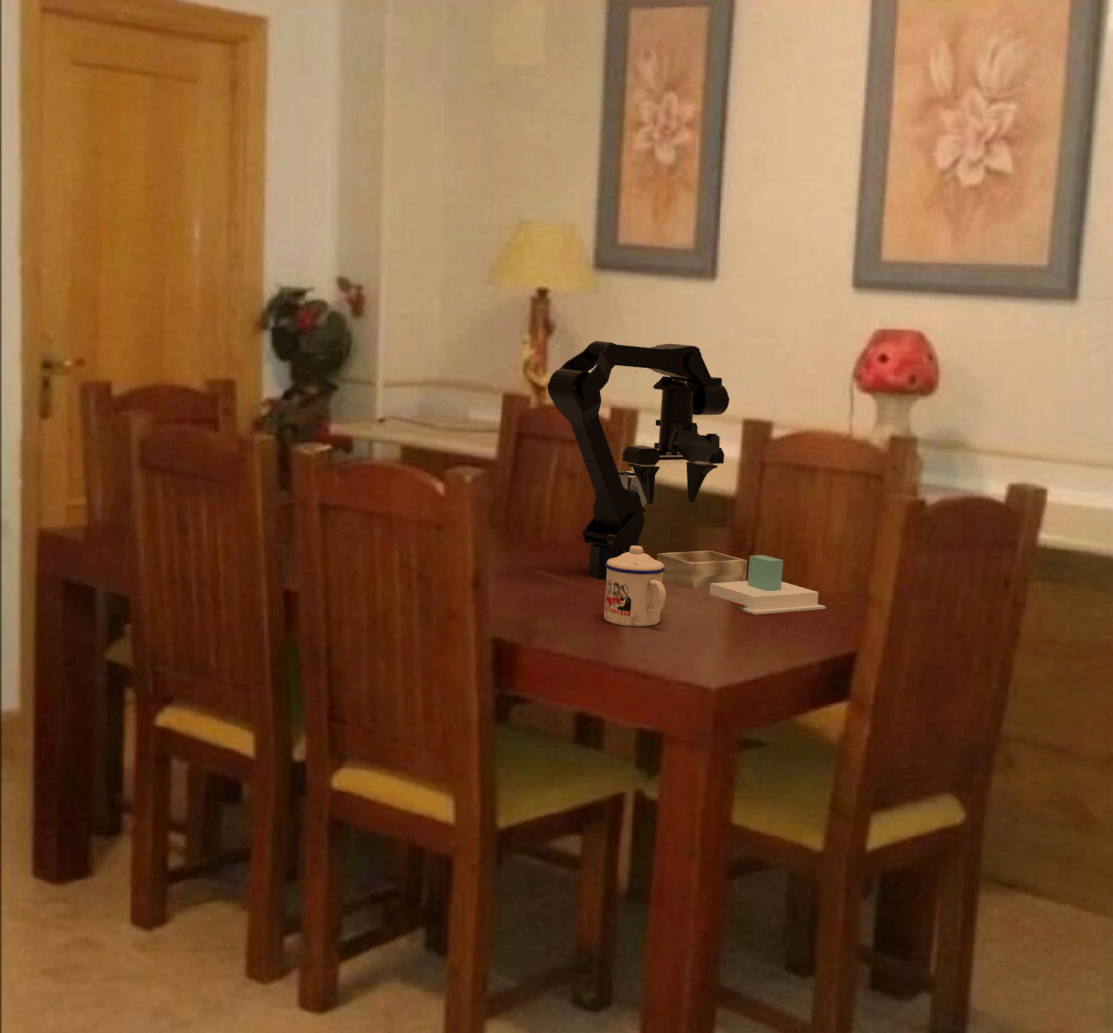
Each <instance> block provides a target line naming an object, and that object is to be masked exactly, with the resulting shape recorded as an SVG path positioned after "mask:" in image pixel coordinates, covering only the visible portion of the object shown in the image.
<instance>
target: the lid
mask: <svg viewBox="0 0 1113 1033" xmlns="http://www.w3.org/2000/svg"><path fill="white" fill-rule="evenodd" d="M783 567H784V560H783V559H779V558H775V557H772V556H768V555H764V554H760V555H759V554H758V555H749V564H748V574H747V575H748V578H747V580H746V581H738V582H723V583H710V587H709V595H711V596H713V597H717V598H721V599H722V600H727V601H730V602H734V603H736V604H740V605H741V606H742V607H745V608H748V609H751V610H764V609H776V608H789V607H801V606H813V605H817V604H819V591H815V590H811V589H809V588H805V587H801V586H798V585H795V584H791V583H788V582H785V581H782V580H783Z"/></svg>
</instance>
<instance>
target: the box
mask: <svg viewBox="0 0 1113 1033" xmlns="http://www.w3.org/2000/svg"><path fill="white" fill-rule="evenodd" d="M656 560H657V561H659V562H661V563H663V565H664V568H665V570H664V571H663V579H662V581H666V582H668V583H669V582H670V583H673V584H675V585H677V586H682V587H685V588H688V589H701V588H710V583H723V582H738V581H747V580H746V579H747V578H746V577H747V564H748V560H747V559H743V558H739V557H736V556H732V555H728V554H725V553H723V552H717V551H715V550H698V551H697V550H696V551H682V552H681V551H679V552H662V553H657V554H656ZM699 561H713V562H699ZM692 562H695V563H692Z"/></svg>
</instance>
